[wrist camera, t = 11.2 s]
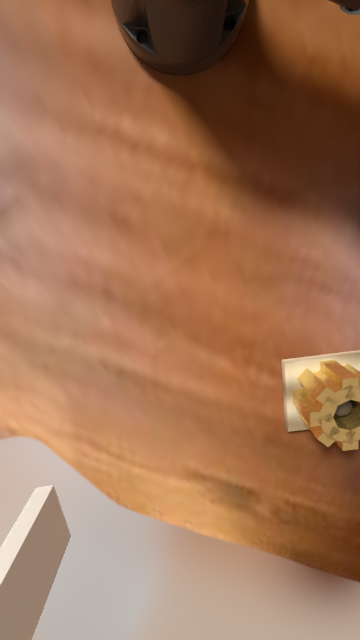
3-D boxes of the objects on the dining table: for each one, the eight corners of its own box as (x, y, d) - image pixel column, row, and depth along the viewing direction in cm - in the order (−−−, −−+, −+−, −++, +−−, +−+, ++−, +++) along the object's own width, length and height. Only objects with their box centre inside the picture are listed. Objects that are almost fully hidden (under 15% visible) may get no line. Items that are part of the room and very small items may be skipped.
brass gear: (291, 364, 42) (308, 383, 36) (362, 356, 42) (392, 373, 36) (294, 427, 45) (311, 454, 39) (362, 419, 44) (389, 445, 38)
